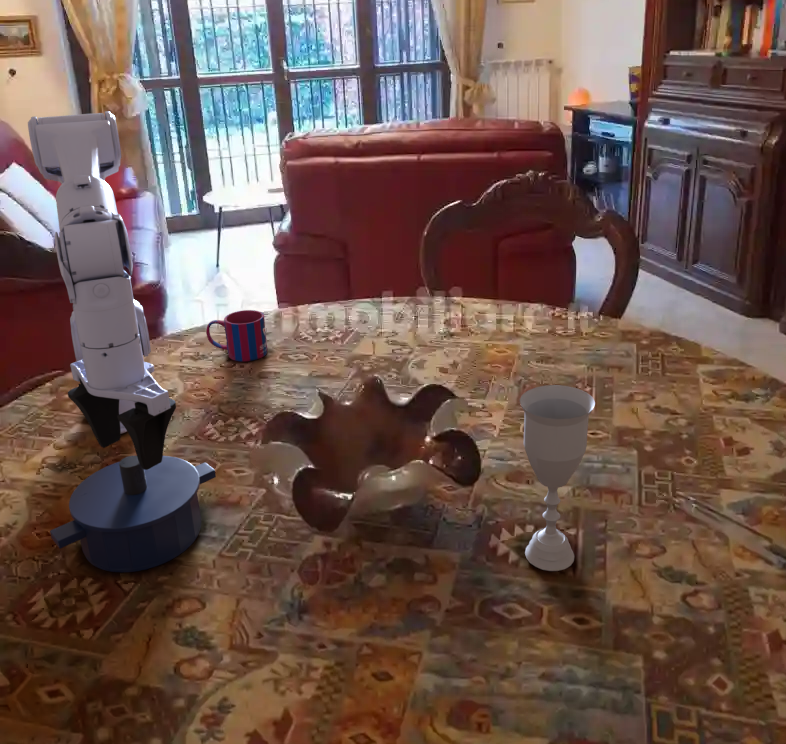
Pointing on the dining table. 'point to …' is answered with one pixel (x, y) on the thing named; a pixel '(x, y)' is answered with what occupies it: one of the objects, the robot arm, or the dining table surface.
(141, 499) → the lid
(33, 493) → the dining table surface
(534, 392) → the chalice
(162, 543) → the pot
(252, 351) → the mug
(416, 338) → the dining table surface
